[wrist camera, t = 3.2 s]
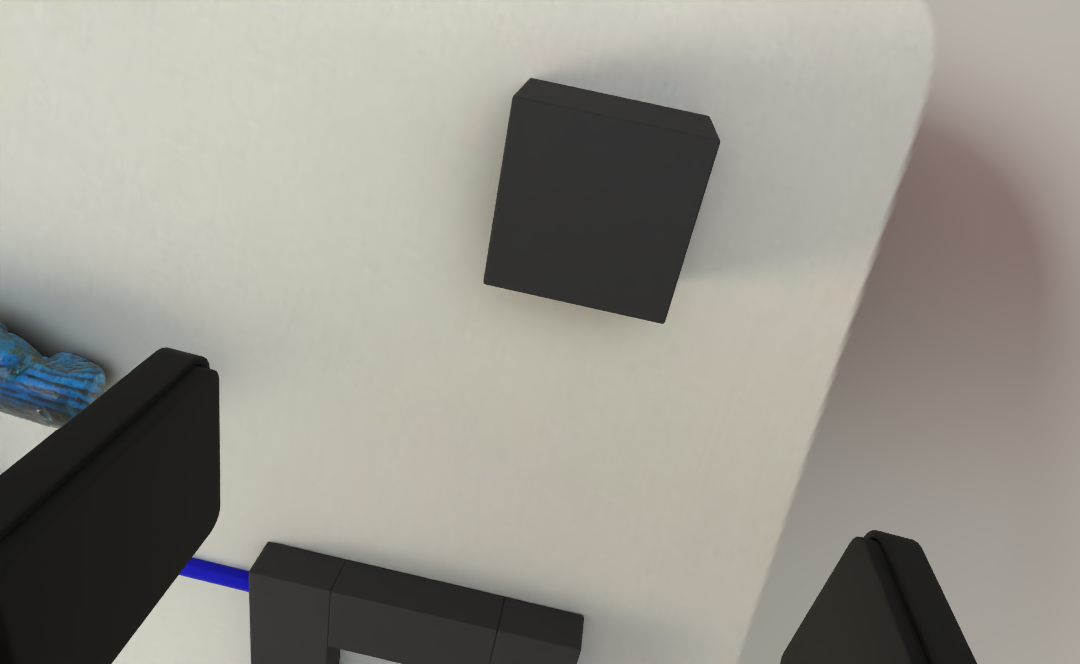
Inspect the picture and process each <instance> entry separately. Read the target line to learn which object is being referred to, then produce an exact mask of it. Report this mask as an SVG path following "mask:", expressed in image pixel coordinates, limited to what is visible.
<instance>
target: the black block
mask: <svg viewBox="0 0 1080 664" xmlns="http://www.w3.org/2000/svg"><path fill="white" fill-rule="evenodd" d="M719 144H720V140H719V137H718V135H717V133H716V130H715V128H714V126H713V124H712V121H711V119H710V117H709V116H705V115H701V114H696V113H691V112H687V111H682V110H677V109H673V108H668V107H664V106H659V105H654V104H650V103H645V102H640V101H636V100H631V99H626V98H622V97H617V96H612V95H608V94H603V93H598V92H594V91H589V90H585V89H580V88H575V87H571V86H566V85H561V84H557V83H552V82H547V81H543V80H538V79H533V78H530V79H529V80H528V81H527V82H526V83H525V84H524V85H523V86H522V88H521V89H520V90H519V91H518V92H517V93H516V94H515V95H514V96H513V98H512V104H511V110H510V117H509V123H508V129H507V136H506V142H505V148H504V155H503V161H502V167H501V174H500V180H499V186H498V193H497V199H496V205H495V211H494V218H493V224H492V230H491V237H490V243H489V249H488V256H487V262H486V268H485V275H484V281H483V282H484V284H486V285H491V286H495V287H500V288H504V289H509V290H513V291H518V292H522V293H527V294H531V295H536V296H540V297H545V298H549V299H554V300H558V301H563V302H567V303H572V304H576V305H581V306H585V307H590V308H594V309H599V310H603V311H608V312H612V313H617V314H621V315H625V316H630V317H634V318H639V319H643V320H648V321H652V322H657V323H661V324H664V322H665V320H666V317H667V313H668V310H669V307H670V304H671V300H672V297H673V294H674V291H675V287H676V284H677V281H678V278H679V274H680V271H681V268H682V265H683V261H684V258H685V255H686V252H687V248H688V245H689V242H690V239H691V235H692V232H693V229H694V226H695V222H696V219H697V216H698V213H699V209H700V206H701V203H702V200H703V196H704V193H705V190H706V187H707V183H708V180H709V177H710V174H711V170H712V167H713V164H714V161H715V157H716V154H717V151H718V148H719Z"/></svg>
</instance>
